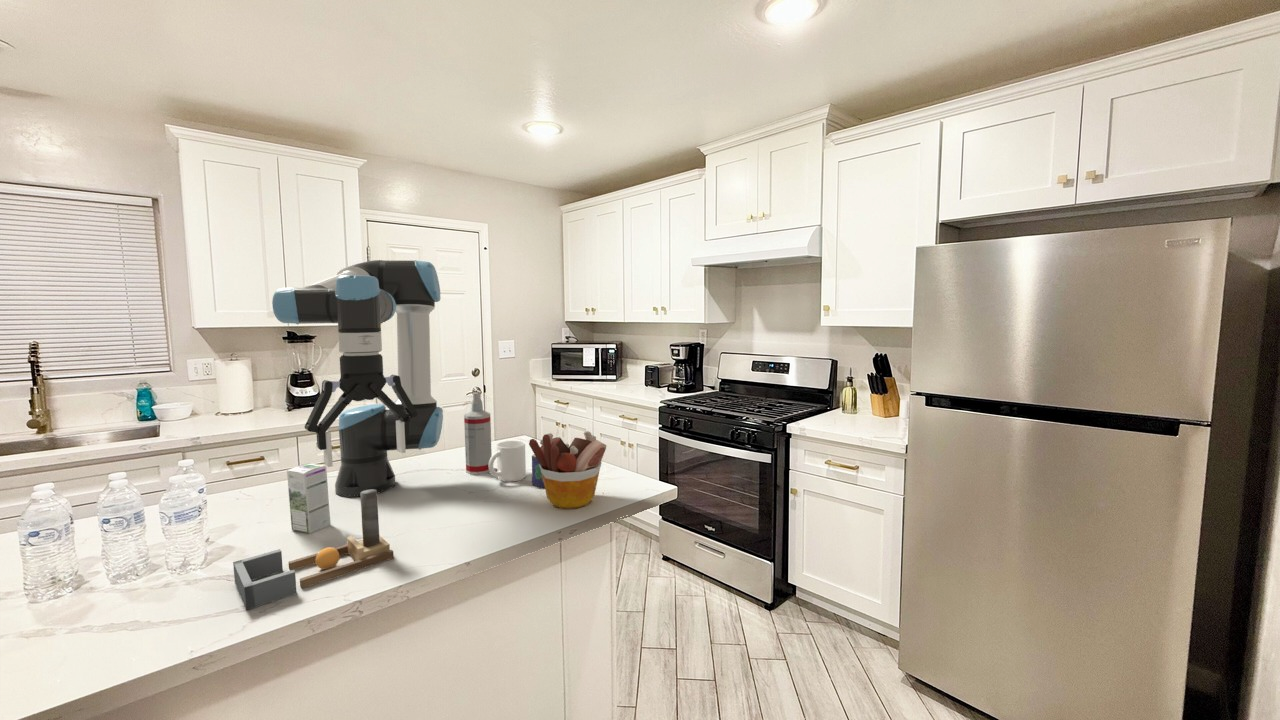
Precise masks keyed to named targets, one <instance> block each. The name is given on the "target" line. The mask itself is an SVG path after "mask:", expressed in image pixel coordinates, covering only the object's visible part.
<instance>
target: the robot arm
mask: <svg viewBox="0 0 1280 720" xmlns="http://www.w3.org/2000/svg"><path fill="white" fill-rule="evenodd" d="M437 273H438V272H437V270H436V267H435V266H434V264H433V263H432V262H429V261H425V260H423V261H422V260H387V259H386V260H382V259H381V260H380V259H379V260H378V259H377V260H367V261H364V262H363V261H362V262H360V263H359V262H358V263H355V264H352V265H350V266H346V267H343V268H342V269H340V270H339V271H338V272H337V274H336V275H334V276H331V277H328V278H326V279H323V280H320V281H317V282H315V283H312V284H309V285H306V286H303V287H294V286H291V287H281V288H277V289H276V290H275V292H274V293H273V295H272V301H271V302H272V303H271V304H272V311H273V315H274V316H275V318H276V320H277V321H279V322H280V323H283V324H294V325H295V324H296V325H299V324H302V325H303V324H308V325H309V324H337V331H338V332H337V334H338V352H339V353H341V354H342V355H341V356H340V357H339V370H340V371H339V372H340V379H339V380H338V381H335V380H334V381H332V380H331V381H330V380H327V379H326V380H325V379H324V380H323V381H322V382H321V392H320V394H319V396H318V397H317V400H316V402H315V404H314V406H313V407H312V408H313V409H312V410H311V412H310V415H309V417H307V420H306V422H305V424H304V429H305V430H307V431H308V432H311V433H316V443H317V444H316V447H317V449H319V450H320V451H323V462H324V466H326V467H327V468H330V467H333V465H334V464H333V447H332V433H331V432H330V431H328V430H329V428H330V427H331V426H332V425H333V423H334V422H335V421H336V420H337V418H338V428H337V430H338V437H339V451H340V466H339V470H338V473H337V476H336V480H335V483H334V488H335V489H334V490H335V491H334V493H335V494H336V495H338V496H342V497H353V498H354V497H361V496H360V493H361V492H362V491H365V490H370V489H375V490H377V494H379V493H382V492H385V491H388V490H390V489H392V488H393V487H395V485H396V475H395V471H394V470H393V467H392V466H391V463H390V460H389V458H388V451H397V452H399V453H401V454H405V453H406V450H422V449H423V450H424V449H430V448H431V449H432V448H434V447H435V446H437V445H438V443H439V441H440V439H441V434H442V431H443V430H442V429H443V420H444V415H443V414H444V413H443V412H444V411H443V408H442V407H440V406H437V405H438V404H437V399H435V398H434V397H432V393H431V392H432V390H431V389H432V388H431V387H432V386H431V385H432V384H431V383H432V381H431V338H430V337H431V336H430V333H431V332H430V328H431V327H430V314H431V312H433V311H434V310H435V307H436V306H435V305H436V304H435V303H438V302H440V301H441V288H440V282H439V276H438V274H437ZM395 314H396V335H397V336H396V337H397V338H396V341H397V342H396V343H397V374H391V375H390V376H384V364H383V362H384V361H383V360H384V359H383V355H382V354H381V353H380V352H382V351H383V342H382V340H383V339H382V326H381V325H382V324H383V323H386V322H387V321H389V320H391V319H392V318H393V317H394V315H395ZM386 384H387V385H388V386H389V387H391V388H392V390H393V392H394V393H395V395H396V397H397V398H396V399H395V400H394V401H393V400H392V399H391V398H390V397H389V396H388V395H387V394H386V393H385V391H383V388H384V387H385V385H386ZM338 388H339V389H340V390H341V391H342V392H343V393H341V395H340V396H339V397H338V399H337V401H336V403H334V405H333V406H332V407H331V408H330V409H329V410H328V411H327V413H326V414H325V416H324V417H323V418H322V416H323V414H324V411H326V407H327V406H328V403H329V401H330V399H331V398H332V394H333V393H335V392H336V390H337V389H338ZM376 398H377V399H378V400H379V401H380V402H381V403H374V404H367V405H363V406H358V407H353V408H350V409H346V407H347V406H348V405H350V404H351V403H352V401H353V402H361V401H364V400H365V401H366V400H367V401H373V400H374V399H376ZM387 408H388V409H387ZM345 409H346V410H345ZM321 418H322V419H321ZM320 419H321V421H320Z"/></svg>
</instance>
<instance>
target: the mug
mask: <svg viewBox="0 0 1280 720" xmlns="http://www.w3.org/2000/svg"><path fill="white" fill-rule="evenodd" d="M495 460H496V464H497V465H496V467H497V468H496V469H497V471H495V469H494V463H495ZM526 461H527V460H526V443H525V441H521V440H507V441H502V442H499V443H497V444H496V452H494V453H493V454H492V456H491V458H490V460H489V471H490V472H489V473H490V474H491V475H492V476H493V477H497V479H498V480H499V481H502V482H505V483H506V482H507V483H508V482H510V483H511V482H518V481H521V480H523V479H524V478H525V477H526V475H527V471H526V469H527V464H526V463H527V462H526Z"/></svg>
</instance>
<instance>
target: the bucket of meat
mask: <svg viewBox="0 0 1280 720" xmlns="http://www.w3.org/2000/svg"><path fill="white" fill-rule="evenodd" d="M583 435H584V438H582V437H574V439H573V440H572V442H571V443H570V444H569V443H568V442H567V443H565V442H564V440H563V439H562V438H561V437H560V436H559V437H558V436H556V437H554V434H553V433H551V432H550V433H547V434H546V433H545V434H543V435H542V439H541V440H539V443H538V441H537V439H534V438H531V439H529V443H528V445H529V447H530V449H531V451H532V453H533V455H534V454H535V456H536V458H537V460H538V461H539V467H540V469H541V473H542V478H543V482H544V486H545V489H544V490H545V494H546V497H547V500H548V501H549V503H550V504H551V505H552V506H553V507H555V508H559V509H563V510H565V509H566V510H567V509H568V510H571V509H579V508H582V507H585V506H587V505H588V504H589V503H590V502H591V501H592V500H593V498H595V493H596V491H597V490H596V489H597V484H598V481H599V475H600V470H601V467H602V463H603V462H602V461H603V459H604V458H603V457H604V454H605V452H606V450H607V444H605V443H603V442H601V441H600V440H598V439H597V437H596V436H595V435H594V434H592V432H591V431H584V432H583ZM539 444H540V445H541V446H540V445H539Z"/></svg>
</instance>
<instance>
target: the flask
mask: <svg viewBox="0 0 1280 720" xmlns="http://www.w3.org/2000/svg"><path fill="white" fill-rule="evenodd" d="M531 487H532V488H537V489H542V490H545V486H544V482H543V478H542V473H541V469H540V467H539V461H538V460H537V458H536V456H535V454H534V453H533V454H532V455H531Z"/></svg>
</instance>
